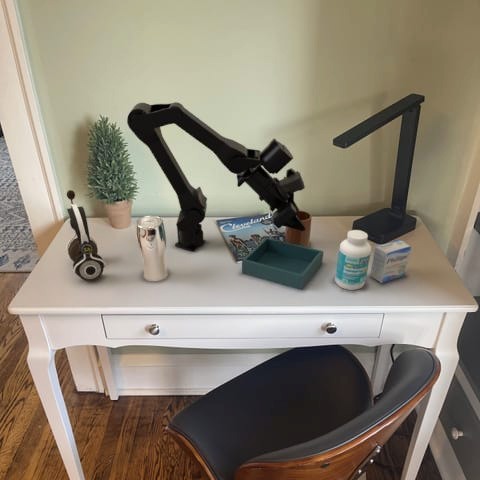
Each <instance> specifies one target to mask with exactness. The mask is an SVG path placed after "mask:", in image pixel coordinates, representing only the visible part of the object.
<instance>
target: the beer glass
mask: <svg viewBox="0 0 480 480" xmlns="http://www.w3.org/2000/svg"><path fill="white" fill-rule="evenodd" d="M134 223H135V237H136V242H137V247H138V250H139V253H140V256H141V260H142V262H143V278H144V279H145V280H146V281H149V282H160V281H163V280H164V279H166V278H167V277H168V274H169V273H168V269H167V266H166V262H165V261H166V247H167V238H166V237H167V236H166V230H165V229H166V228H165V225H164V224H165V223H164V220H163V218H162V217H160V216H157V215H145V216H141V217H139V218H138V219H136V220H135V222H134Z"/></svg>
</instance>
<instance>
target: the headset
mask: <svg viewBox="0 0 480 480" xmlns="http://www.w3.org/2000/svg"><path fill="white" fill-rule="evenodd" d="M66 197H67V199H68V200H70V203H71V204H70V208H66V211H67V214H68V217H69V224H70V227H71V229H73V232H74V235H73V236H72V237H71V238H70V240H69V241H68V242H67V244H66V251H67V253H68V256H69V259H70V260H71V261H73V264H72V269H73V272H74V273H75V275H76V276H78V277H79V278H80V279H81V280H83V281H87V282H92V281H95V280H97V279H99V278H100V277H101V276H102V275H103V272H104V269H105V266H106V261H105V260H103V257H101V255H100V254H98V251H99V249H98V244H97V242H96V240H95V239H94V238H93V237H91V236H90V232H89V231H90V230H89V224H88V220H87V215H86V211H85V208H84V206H83V205H82V206H78V205H77V204H76V203H74V202H73V200H74V199H75V198H76V192H75V191H74V190H71V189H70V190H67V192H66ZM75 237H76V238H75Z"/></svg>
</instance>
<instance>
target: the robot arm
mask: <svg viewBox="0 0 480 480" xmlns="http://www.w3.org/2000/svg"><path fill="white" fill-rule="evenodd" d="M126 122H127V126H128V128H129V129H130V131H131V132H132V134H134V135H135V136H136V138H137V139H138V140H139V141H140V142H141V143H142V144H144V145H145V146H146V147H147V148H148V149H149V151H150V152H151V154H152V156H153V158H154V159H155V161H156V162H157V164H158V166H159V167H160V170H161V171H162V173H163V174H164V176H165V178H166V180H167V181H168V182H169V184H170V186H171V188H172V189H173V190H174V191H173V192H175V194H176V196H177V200H178V203H179V206H180V207H179V209H180V210H179V213H178V217H177V221H176V223H175V224H176V232H177V242H176V243H175V244H174V247H177V248H181V249H184V250H187V251H190V252H195V251H196V250H198V249H199V248H200V247H202V246H203V245H204V244H205V243H206V242H207V240H205V239H204V230H203V225H202V224H201V223H202V222H204V220H205V218H206V214H207V207H208V203H207V202H208V198H207V196H206V195H205V194H204V193H203V191H202V188H201V186H198V187H197V188H195V187H194V186H192V184H190V182H189V180H188V178H187V176H186V175H185V173H184V171H183V169H182V167H181V165H180V164H179V163H178V161H177V159H176V157H175V156H174V154H173V151H171V149H170V147H169V145H168V143H167V142H166V140H165V138H164V136H163V133H162V129H161V127H165V126H168V125H173V124H174V125H176V126H177V127H178V128H180V129H181V130H182V131H184V132H185V133H187V134H188V135H189V136H190V137H192V138H194V139H195V140H196V141H198V142H199V144H201V145H203V147H205V148H207V149H208V150H210V151H211V152H212V153H213V154H214V156H215V157H217V159H218V160H219V161H220V163H221V164H222V165H223V166H224V167H225V168H226V169H227V170H228V171H229V172H230V173H232V174H234V175H236V179H237V184H236V186H237V187H238V188H240V187H241V186H242V185H243V184H244V183H245V184H246V185H247V186H248V187H249V188H250V189H251V190H252V191H253V192H254V193H255V194H257V195H258V200H259V201H261V202H262V201H264V203H266V204H267V205H268V207H269V211H271V212H273V213H272V223H273V226H275V227H276V228H277V229H280V228H282V227H285V228H286V227H290V228H293V229H296V230H300V231H304V230H305V229H306V228H305V227H304V225H303V224H302V222H301V221H300V219H299V218H298V217H297V215H296V213H297V210H300V208H299V206H298V204H297V203H296V201H295V193H296V192H299V191H303V190H304V189H305V182H304V180H303V177H302V175H301V172H300V171H298V170H296V171H295V169H293V168H292V167H290V168H288V169H286V173H285V176H283V178H282V179H279V178H278V177H273V176H272V175H274V174H276V175H277V174H278V173H279V172H281V171H282V170H283V169H284V168H285V167H287V165H288V164H289V163H290V162H291V161H293V159H294V156H293V154H292V153H291V152H290V150H289V149H288V147H287V146H286V145H285V144H283V143H281V142H280V141H278V140H277V139H276V138H273V139H272V140H271V141H269V144H268V145H267V146H265V148H263V149H262V150H259V149H253V148H247V147H246V146H245V145H244V144H242V143H239V142H238V141H237V140H236V141H235V140H234V139H231V138H228V137H225V136H223V135H221V134H220V133H218V132H217V131H216V130H215V129H213V128H212V127H210V126H209V125H208V124H207V123H205V122H204V121H203V120H201V119H200V118H199V117H198V116H196V115H195V114H193V113H192V112H191V111H189V110H188V109H187V108H186V107H184V105H183V104H182V103H180V102H177V101H176V102H170V103H154V104H150V103H146V102H139V103H138V102H137V103H136V104H135V105H134V106H133V107H132V109H131V110H130V111H129V113H128V115H127V119H126ZM271 174H272V175H271Z"/></svg>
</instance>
